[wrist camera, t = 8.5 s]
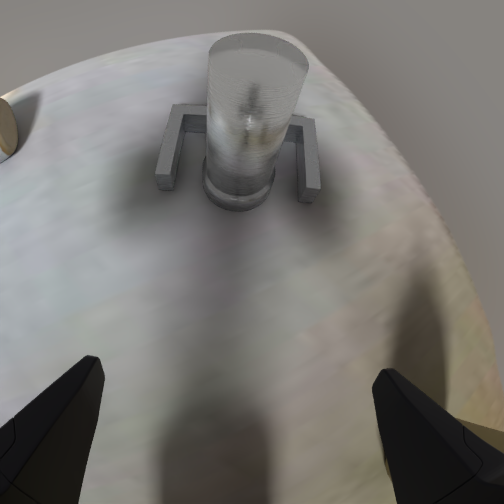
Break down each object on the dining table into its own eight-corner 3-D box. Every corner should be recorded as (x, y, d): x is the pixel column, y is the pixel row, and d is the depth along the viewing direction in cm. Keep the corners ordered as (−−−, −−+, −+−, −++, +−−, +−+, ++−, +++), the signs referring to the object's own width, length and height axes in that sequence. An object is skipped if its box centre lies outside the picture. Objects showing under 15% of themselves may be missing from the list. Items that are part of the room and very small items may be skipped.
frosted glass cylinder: (284, 184, 26) (334, 68, 14) (235, 224, 24) (260, 106, 12) (238, 143, 27) (258, 22, 14) (188, 178, 25) (180, 51, 13)
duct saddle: (311, 203, 26) (336, 165, 20) (159, 189, 24) (147, 146, 19) (304, 108, 29) (320, 66, 24) (182, 95, 28) (179, 51, 22)
